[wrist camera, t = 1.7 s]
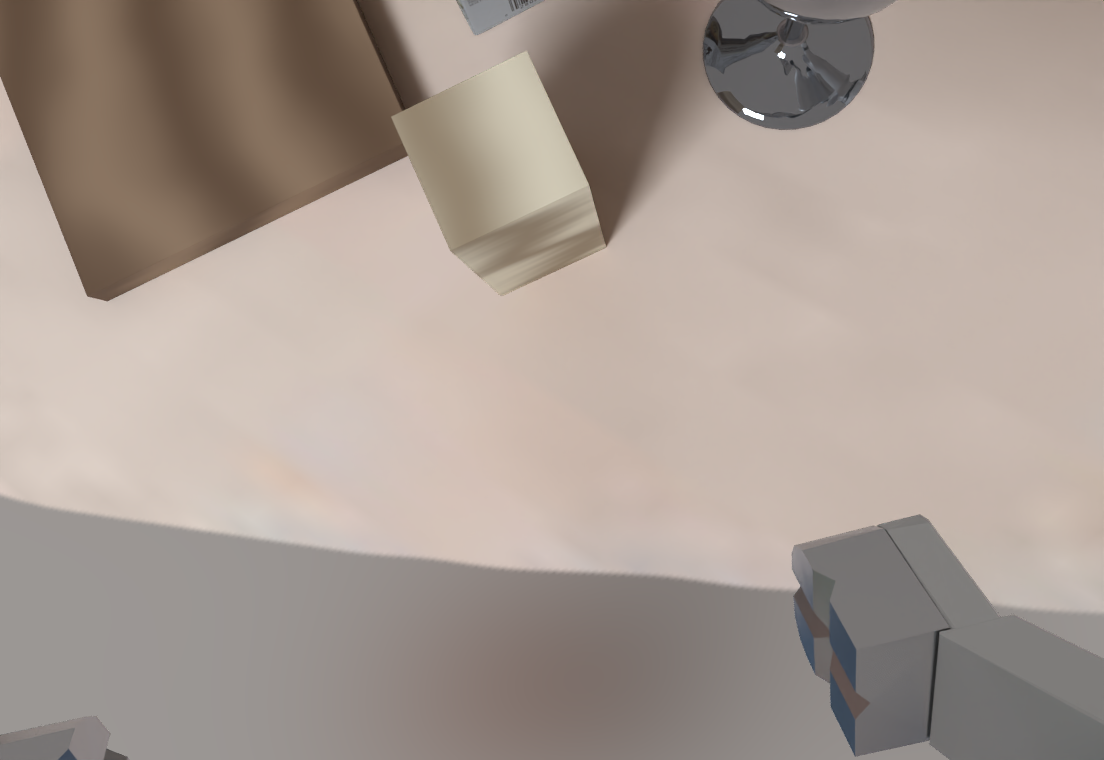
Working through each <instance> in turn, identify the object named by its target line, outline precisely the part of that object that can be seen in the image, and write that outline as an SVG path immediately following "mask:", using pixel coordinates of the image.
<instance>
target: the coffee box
mask: <svg viewBox="0 0 1104 760" xmlns="http://www.w3.org/2000/svg"><path fill="white" fill-rule="evenodd" d="M456 1H457V3H458V5H459V7H460V9H461V11H462V13H463V14H464V16H465V18H466V20H467V22H468V24H469V26H470V28H471V30H472V32H473V33H474V34H475V35H479V34H481V33H483V32H485V31H487V30H489V29H490V28H492V27H494V26H496V25H498V24H500V23H502V22H504V21H506V20H508V19H510V18H511V17H513V16H515V15H517V14H519V13H521V12H523V11H525V10H527V9H529V8H531V7H532V6H534V5H536V4H538V3H540V2H542V1H544V0H456Z"/></svg>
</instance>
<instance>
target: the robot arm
mask: <svg viewBox="0 0 1104 760" xmlns="http://www.w3.org/2000/svg"><path fill="white" fill-rule="evenodd" d="M792 570H793V572H794V574H795V576H796V578H797V580H798V582H799V584H800V588H799V589H798V591H797V592H796V593H795V595H794V596H793V597H794V611H795V619H796V623H797V628H798V632H799V636H800V640H801V643H802V645H803V648H804V651H805V653H806V656H807V658H808V660H809V663H810V665H811V667H812V669H813V671H814V673H815V675H817V676H818V677H820V678H822V679H823V680H825V681H827V682H828V683H830V700H831V702H830V703H831V709H832V711H833V713H834V715H835V717H836V719H837V721H838V723H839V725H840V727H841V729H842V731H843V733H844V735H845V737H846V739H847V741H848V743H849V745H850V747H851V749H852V751H853V753H854V756H860V755H865V754H869V753H874V752H879V751H883V750H888V749H892V748H897V747H902V746H906V745H911V744H915V743H920V742H925V741H929V740H930V743H929V744H930V745H931V746H932V747H934V748H935V749H936V750H938V751H939V752H940V753H942V754H943V755H944V756H946V757H947V758H948V759H950V760H1104V658H1101V657H1100V656H1098V655H1096V654H1093V653H1091V652H1089V651H1087V650H1085V649H1083V648H1081V647H1079V646H1077V645H1075V644H1073V643H1071V642H1069V641H1067V640H1065V639H1063V638H1061V637H1059V636H1057V635H1055V634H1053V633H1051V632H1049V631H1047V630H1045V629H1043V628H1041V627H1039V626H1036V625H1035V624H1033V623H1030V622H1028V621H1026V620H1024V619H1022V618H1020V617H1018V616H1016V615H1008V616H1004V617H1001V616H1000V615H999V614H998V613H997V611H996V610H995V608H994V607H993V606H992V604H991V603H990V602H989V600H988V599H987V598H986V596H985V595H984V594H983V592H982V591H981V590H980V588H979V587H978V586H977V584H976V583H975V581H974V580H973V579H972V577H971V576H970V575H969V573H968V572H967V571H966V569H965V568H964V567H963V565H962V564H961V563H960V561H959V560H958V559H957V557H956V556H955V555H954V553H953V552H952V551H951V549H950V548H949V547H948V545H947V544H946V543H945V541H944V540H943V538H942V537H941V536H940V534H939V533H938V532H937V530H936V529H935V528H934V526H933V525H932V524H931V522H930V521H929V520H928V519H927V518H925V517H923V516H922V515H916V516H912V517H908V518H903V519H899V520H895V521H891V522H887V523H883V524H879V525H877V526H870V527H866V528H862V529H858V530H854V531H850V532H846V533H842V534H838V535H834V536H830V537H826V538H822V539H818V540H814V541H810V542H806V543H802V544H798V545H794V548H793V552H792ZM109 737H110V732H109V731H108V730H107V728H106V727H105V726H104V725H103V724H102V722H101V721H100V720H99V719H98V717H97V716H90V717H82V718H77V719H72V720H67V721H63V722H58V723H53V724H49V725H44V726H39V727H35V728H30V729H26V730H21V731H16V732H11V733H7V734H2V735H0V760H129V759H128V757H126V756H124V755H121V754H119V753H116V752H113V751H111V750H109V749H106V748H107V744H108V741H109Z"/></svg>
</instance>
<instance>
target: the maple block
mask: <svg viewBox="0 0 1104 760" xmlns="http://www.w3.org/2000/svg"><path fill="white" fill-rule="evenodd" d="M391 118H392V120H393V122H394V125H395V127H396V129H397V131H398V134H399V136H400V138H401V140H402V143H403V145H404V147H405V149H406V152H407V154H408V156H409V158H410V161H411V163H412V165H413V168H414V170H415V172H416V174H417V177H418V179H419V181H420V183H421V186H422V188H423V190H424V192H425V195H426V197H427V199H428V201H429V204H430V206H431V208H432V210H433V213H434V215H435V217H436V219H437V222H438V224H439V226H440V229H441V231H442V233H443V235H444V238H445V240H446V242H447V244H448V247H449V249H450V251H451V252H452V253H453V254H454V255H456V256H457V257H458V258H459V259H460V260H461V261H462V262H463V263H464V264H466V265H467V266H468V267H469V268H470V269H471V270H472V271H473V272H474V273H476V274H477V275H478V276H479V277H480V278H481V279H482V280H483V281H484V282H485V283H487V284H488V285H489V286H490V287H491V288H492V289H493V290H494V291H495V292H497V293H498V294H499V295H500V296H503V295H505V294H508V293H510V292H512V291H514V290H516V289H518V288H520V287H523V286H525V285H527V284H529V283H531V282H533V281H535V280H538V279H540V278H542V277H544V276H546V275H548V274H550V273H553V272H555V271H557V270H559V269H561V268H563V267H565V266H568V265H570V264H572V263H574V262H576V261H578V260H580V259H583V258H585V257H587V256H589V255H591V254H593V253H595V252H598V251H600V250H602V249H604V248H606V245H605V241H604V238H603V234H602V230H601V227H600V223H599V219H598V216H597V212H596V208H595V205H594V201H593V198H592V194H591V190H590V187H589V184H588V182H587V180H586V177H585V175H584V173H583V171H582V169H581V167H580V164H579V162H578V160H577V158H576V156H575V154H574V151H573V149H572V147H571V145H570V143H569V141H568V139H567V136H566V134H565V132H564V130H563V128H562V126H561V123H560V121H559V119H558V117H557V115H556V113H555V110H554V108H553V106H552V104H551V102H550V100H549V97H548V95H547V93H546V91H545V89H544V87H543V85H542V82H541V80H540V78H539V76H538V74H537V72H536V69H535V67H534V65H533V63H532V61H531V59H530V56H529V54H528V52H527V51H525V52H523V53H521V54H518V55H516V56H514V57H512V58H510V59H508V60H506V61H504V62H502V63H500V64H498V65H496V66H494V67H492V68H490V69H488V70H486V71H484V72H482V73H480V74H478V75H475V76H473V77H471V78H469V79H467V80H465V81H463V82H461V83H459V84H457V85H455V86H453V87H451V88H449V89H447V90H445V91H443V92H441V93H439V94H437V95H435V96H432V97H430V98H428V99H426V100H424V101H422V102H420V103H418V104H416V105H414V106H412V107H410V108H408V109H406V110H404V111H402V112H400V113H398V114H396V115H394V116H392V117H391Z"/></svg>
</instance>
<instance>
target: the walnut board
mask: <svg viewBox="0 0 1104 760" xmlns="http://www.w3.org/2000/svg"><path fill="white" fill-rule="evenodd" d="M0 77H1V79H2V82H3V84H4V87H5V90H6V92H7V95H8V97H9V100H10V102H11V105H12V107H13V110H14V112H15V115H16V117H17V120H18V122H19V125H20V127H21V130H22V132H23V135H24V138H25V140H26V143H27V145H28V148H29V150H30V153H31V155H32V158H33V160H34V163H35V165H36V168H37V170H38V173H39V175H40V178H41V180H42V183H43V185H44V188H45V191H46V193H47V196H48V198H49V201H50V203H51V206H52V208H53V211H54V213H55V216H56V218H57V221H58V223H59V226H60V228H61V231H62V233H63V236H64V238H65V241H66V244H67V246H68V249H69V251H70V254H71V256H72V259H73V261H74V264H75V266H76V269H77V271H78V274H79V276H80V279H81V281H82V284H83V286H84V289H85V291H86V294H87V296H88V297H92V298H96V299H100V300H104V301H109V300H111V299H113V298H115V297H117V296H119V295H121V294H123V293H125V292H127V291H129V290H132V289H134V288H136V287H138V286H140V285H142V284H144V283H146V282H148V281H150V280H152V279H154V278H156V277H158V276H160V275H163V274H165V273H167V272H169V271H171V270H173V269H175V268H177V267H179V266H181V265H183V264H185V263H187V262H189V261H191V260H193V259H196V258H198V257H200V256H202V255H204V254H206V253H208V252H210V251H212V250H214V249H216V248H218V247H220V246H222V245H224V244H227V243H229V242H231V241H233V240H235V239H237V238H239V237H241V236H243V235H245V234H247V233H249V232H251V231H253V230H255V229H257V228H260V227H262V226H264V225H266V224H268V223H270V222H272V221H274V220H276V219H278V218H280V217H282V216H284V215H286V214H288V213H290V212H293V211H295V210H297V209H299V208H301V207H303V206H305V205H307V204H309V203H311V202H313V201H315V200H317V199H319V198H321V197H324V196H326V195H328V194H330V193H332V192H334V191H336V190H338V189H340V188H342V187H344V186H346V185H348V184H350V183H352V182H354V181H357V180H359V179H361V178H363V177H365V176H367V175H369V174H371V173H373V172H375V171H377V170H379V169H381V168H383V167H385V166H388V165H390V164H392V163H394V162H396V161H398V160H400V159H402V158H404V157H406V156H408V154H407V152H406V149H405V147H404V145H403V143H402V140H401V138H400V136H399V134H398V131H397V129H396V127H395V125H394V122H393V120H392V118H391V117H392V116H394V115H396V114H398V113H400V112H402V111H404V110H405V108H404V106H403V103H402V101H401V99H400V97H399V94H398V92H397V90H396V88H395V85H394V83H393V81H392V79H391V76H390V74H389V72H388V70H387V67H386V65H385V63H384V61H383V58H382V56H381V54H380V52H379V49H378V47H377V45H376V43H375V40H374V38H373V36H372V34H371V32H370V29H369V27H368V25H367V23H366V20H365V18H364V16H363V14H362V11H361V9H360V7H359V5H358V2H357V0H0Z"/></svg>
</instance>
